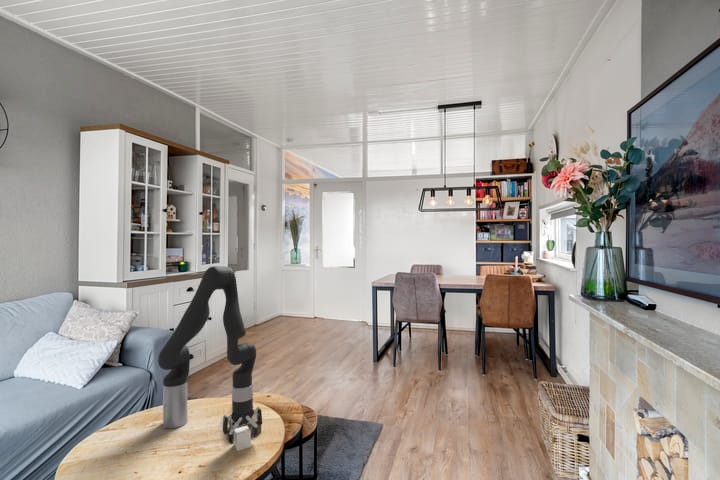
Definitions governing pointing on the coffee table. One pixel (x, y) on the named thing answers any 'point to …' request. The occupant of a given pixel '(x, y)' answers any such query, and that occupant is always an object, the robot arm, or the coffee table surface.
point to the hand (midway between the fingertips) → (242, 439)
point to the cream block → (242, 438)
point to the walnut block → (248, 425)
